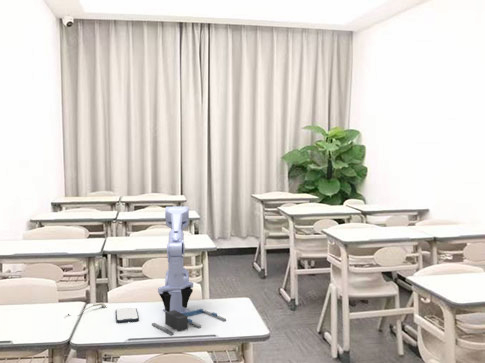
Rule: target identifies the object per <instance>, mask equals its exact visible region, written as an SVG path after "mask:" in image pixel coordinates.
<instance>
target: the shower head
mask: <svg viewBox="0 0 485 363" xmlns="http://www.w3.org/2000/svg"><path fill="white" fill-rule="evenodd" d="M97 306H102V307H103V308H104V307H106V306H107V305H106V304H105V303H104V302H100V303H99V302H98V303H93V304H92V305H91V306H88V307H86V308H85V309H83V310H81V312H82V313H83V312H84V311H86V310H88V309H90V308H93V307H97ZM106 308H107V307H106Z"/></svg>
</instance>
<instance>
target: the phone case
mask: <svg viewBox="0 0 485 363" xmlns="http://www.w3.org/2000/svg"><path fill="white" fill-rule="evenodd" d="M139 317H140V316H139V312H138V308H136V307H129V308H118V309H115V319H116V320H115V321H116V324H127V323H128V322H130V323H137V322H139V321H140V318H139ZM128 324H129V323H128Z"/></svg>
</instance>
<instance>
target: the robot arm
mask: <svg viewBox="0 0 485 363" xmlns="http://www.w3.org/2000/svg"><path fill="white" fill-rule="evenodd" d="M164 209H165V210H164V212H165V213H164V216H165V224H166V227H168V228H169V229H170V231H169V232H168V243H166V255H167V256H166V257H167V266H168V269H167V270H166V272H165V277H164V278H165V280H164V286H161V287H157V292H158V293H157V294H158V295H159V297H160V298H161V301H162V303H163V306H164V308H162V311H164V312H169V311H172V310H175V311H177V312H179V313H185V312H189V311H191V310H190V309H187V308H188V305H189V299H190V297H191V295H192V294H193V288H194V282H193V281H190V272H189V270H188V269H187V268H186V267H184V256H185V252H186V251H185V250H186V249H185V242H184V238H185V237H184V229H185V228H187V227H188V226H189V219H190V215H189V214H190V212H189V211H190V207H189V206H188V205H186V206H167V205H166V207H165V208H164Z"/></svg>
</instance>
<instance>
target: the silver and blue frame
mask: <svg viewBox="0 0 485 363" xmlns="http://www.w3.org/2000/svg"><path fill="white" fill-rule="evenodd" d="M182 314H184V315H186V316H188V317H192V316H195V315H200V314H204V315H208V316H210V317H211V318H214V319H217V320H219V321H220V322H227V318H225V317H223V316H220V315H218V313H217V312H214V311H213V312H210V311H207V310H204V309H203V308H199V309H194V310H190V311H189V312H185V313H182ZM188 324H189V325H191V326H193V327H194V328H197V329H201V328H202V325H200V324H198V323H196V322H194V321H193V319H191V318H188ZM151 326H152V327H155V328H156V329H157V330H160V331H162V332H163V333H166V334H168V335H169V336H171V337H172V336H174V335H175V332H173V331H171V330H170V329H167V328H166V327H164V326H162V325H161V324H158V323H157V322H151Z"/></svg>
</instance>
